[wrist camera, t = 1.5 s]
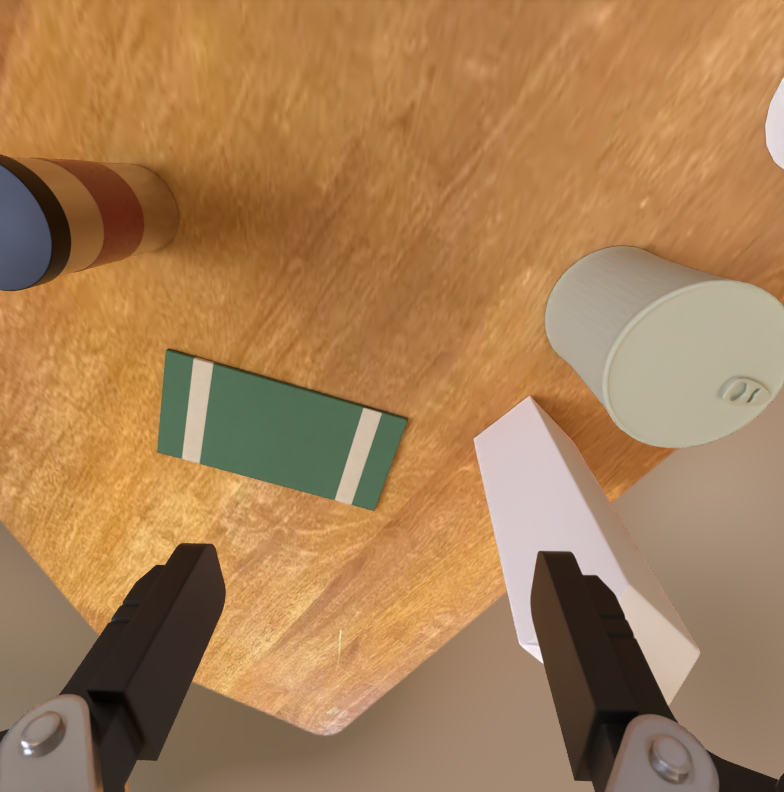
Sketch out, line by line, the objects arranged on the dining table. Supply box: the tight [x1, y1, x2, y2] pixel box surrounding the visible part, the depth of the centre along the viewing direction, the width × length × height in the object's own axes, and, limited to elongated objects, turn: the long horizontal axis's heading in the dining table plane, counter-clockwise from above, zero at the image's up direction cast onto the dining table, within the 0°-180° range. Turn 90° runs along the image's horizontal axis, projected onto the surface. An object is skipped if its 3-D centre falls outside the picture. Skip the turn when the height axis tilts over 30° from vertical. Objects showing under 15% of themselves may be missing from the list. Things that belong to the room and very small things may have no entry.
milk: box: [474, 396, 700, 706], centre depth 28 cm, size 6×6×22 cm
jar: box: [0, 155, 179, 291], centre depth 26 cm, size 6×6×12 cm
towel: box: [157, 349, 408, 511], centre depth 39 cm, size 10×20×1 cm, turn 73°
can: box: [545, 246, 784, 448], centre depth 28 cm, size 9×9×12 cm
